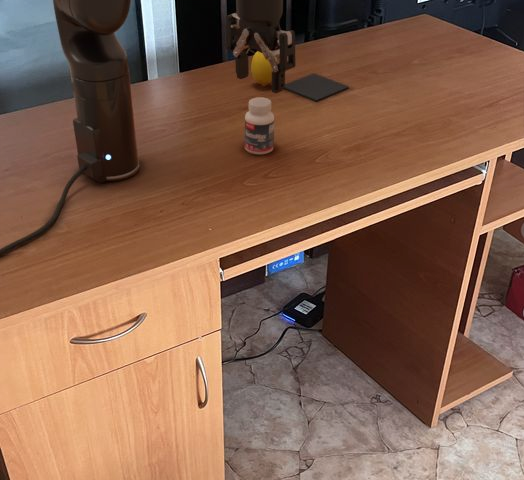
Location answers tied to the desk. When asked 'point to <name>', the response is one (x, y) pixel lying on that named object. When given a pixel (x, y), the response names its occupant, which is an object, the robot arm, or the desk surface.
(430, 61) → the desk surface
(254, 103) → the pill bottle
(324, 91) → the coaster
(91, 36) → the robot arm
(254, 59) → the lemon
